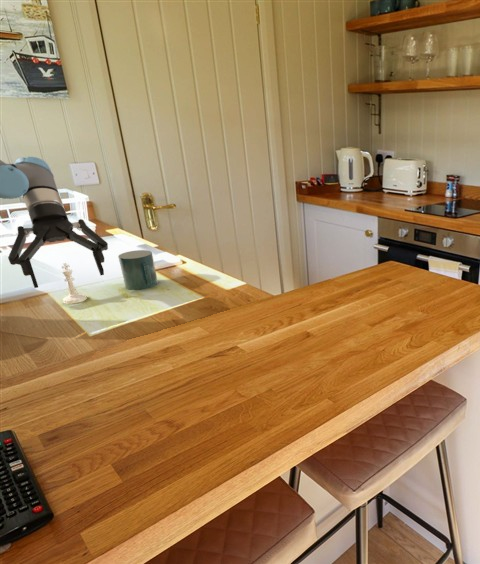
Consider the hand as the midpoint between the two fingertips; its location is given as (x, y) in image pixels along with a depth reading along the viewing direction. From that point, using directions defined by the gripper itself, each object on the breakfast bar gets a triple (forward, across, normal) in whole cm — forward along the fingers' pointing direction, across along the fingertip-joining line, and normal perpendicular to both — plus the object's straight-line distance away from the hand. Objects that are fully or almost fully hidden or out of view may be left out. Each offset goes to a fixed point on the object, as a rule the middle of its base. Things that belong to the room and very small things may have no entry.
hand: (70, 278), depth 107 cm
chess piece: (+4, 0, -5) cm, 6 cm away
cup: (+4, -16, -5) cm, 17 cm away
